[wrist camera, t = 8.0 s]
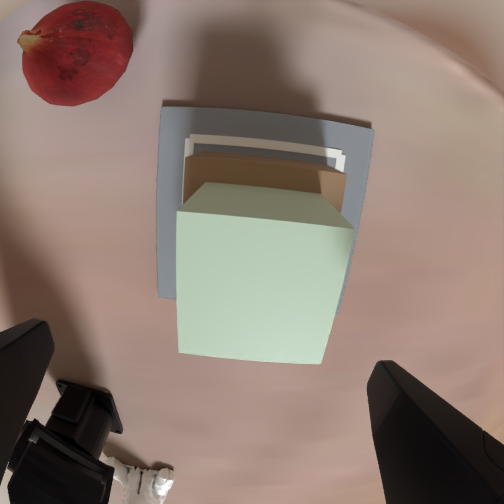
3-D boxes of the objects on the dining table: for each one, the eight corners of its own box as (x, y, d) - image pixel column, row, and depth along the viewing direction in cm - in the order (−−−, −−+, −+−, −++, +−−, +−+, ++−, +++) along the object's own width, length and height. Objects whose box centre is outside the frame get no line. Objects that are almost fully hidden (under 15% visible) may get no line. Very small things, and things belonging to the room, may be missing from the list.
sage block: (303, 295, 15) (320, 364, 10) (201, 285, 15) (178, 352, 10) (321, 193, 13) (355, 229, 8) (205, 182, 13) (176, 211, 8)
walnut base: (308, 278, 19) (319, 313, 15) (195, 267, 19) (181, 300, 15) (327, 164, 16) (347, 174, 13) (201, 151, 16) (185, 157, 13)
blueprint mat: (336, 311, 20) (338, 314, 20) (160, 294, 20) (158, 297, 20) (372, 129, 16) (374, 129, 15) (163, 107, 16) (161, 106, 15)
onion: (147, 10, 13) (86, -45, 6) (156, 92, 15) (86, 71, 8) (68, 41, 14) (-13, 18, 6) (74, 119, 16) (-15, 125, 8)
